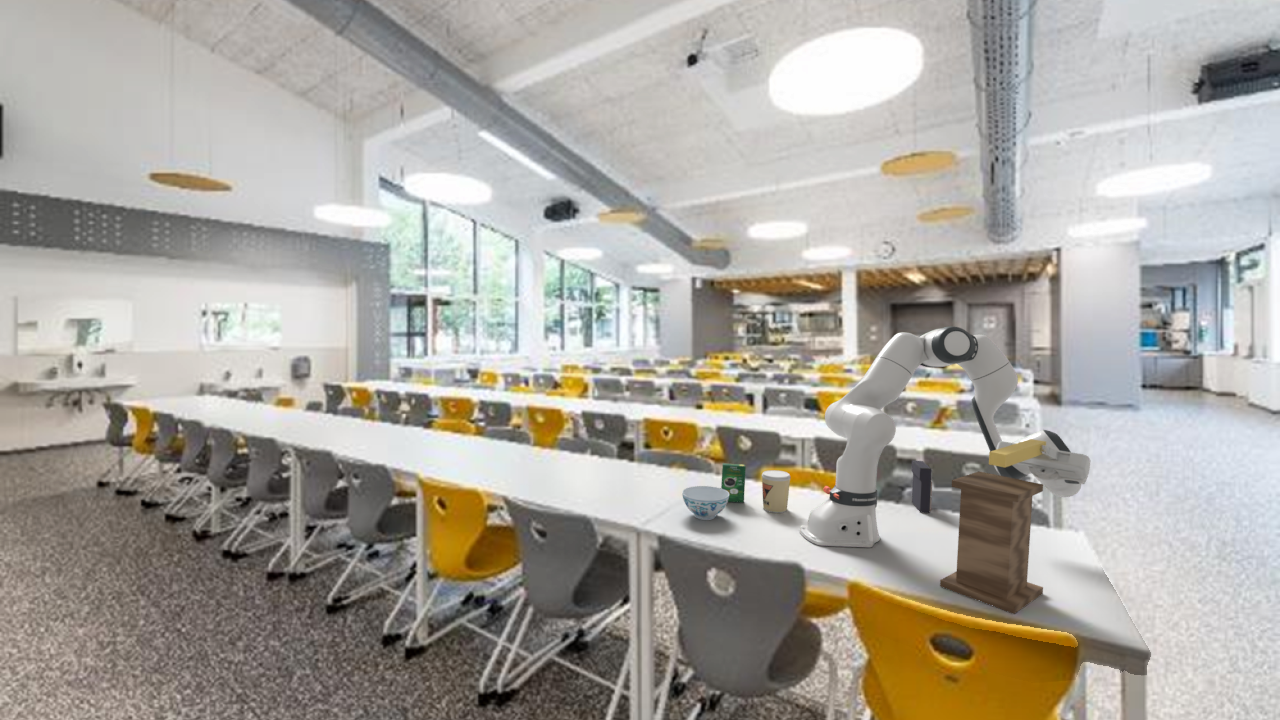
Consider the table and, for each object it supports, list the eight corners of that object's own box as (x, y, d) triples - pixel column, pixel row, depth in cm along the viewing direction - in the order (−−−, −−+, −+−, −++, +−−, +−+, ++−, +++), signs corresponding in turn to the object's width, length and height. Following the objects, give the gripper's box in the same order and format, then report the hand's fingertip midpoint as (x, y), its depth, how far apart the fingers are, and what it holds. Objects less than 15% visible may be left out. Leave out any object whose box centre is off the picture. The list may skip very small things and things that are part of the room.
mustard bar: (1005, 467, 134) (1005, 454, 134) (988, 464, 137) (989, 451, 137) (1045, 453, 148) (1046, 441, 148) (1030, 450, 151) (1030, 439, 151)
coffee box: (744, 500, 204) (745, 463, 203) (744, 503, 201) (745, 465, 200) (720, 499, 204) (721, 462, 203) (721, 502, 201) (722, 464, 200)
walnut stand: (1014, 614, 127) (1021, 497, 125) (940, 586, 140) (945, 479, 138) (1042, 593, 137) (1049, 484, 135) (970, 569, 149) (976, 469, 147)
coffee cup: (757, 504, 199) (758, 470, 198) (784, 504, 200) (785, 469, 199) (765, 513, 190) (766, 477, 189) (793, 513, 191) (794, 477, 190)
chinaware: (702, 505, 198) (703, 483, 197) (738, 517, 187) (738, 493, 186) (671, 515, 187) (672, 492, 187) (707, 528, 177) (708, 503, 176)
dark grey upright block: (932, 513, 192) (934, 468, 191) (918, 512, 193) (920, 468, 192) (922, 503, 203) (925, 460, 202) (909, 502, 204) (911, 460, 203)
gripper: (1008, 447, 164) (991, 428, 156) (1098, 462, 148) (1083, 441, 140) (1003, 468, 163) (984, 450, 155) (1092, 486, 146) (1077, 466, 139)
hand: (1032, 446), depth 147 cm, fingers closed on mustard bar, 3 cm apart
